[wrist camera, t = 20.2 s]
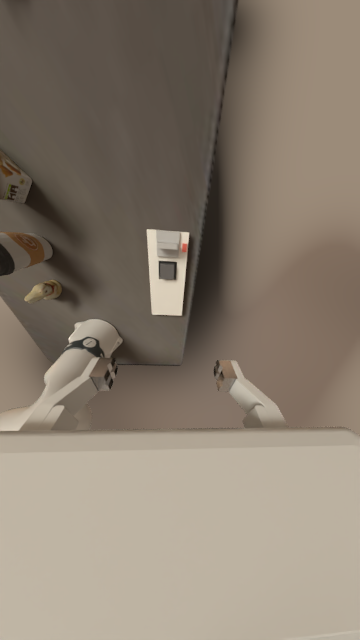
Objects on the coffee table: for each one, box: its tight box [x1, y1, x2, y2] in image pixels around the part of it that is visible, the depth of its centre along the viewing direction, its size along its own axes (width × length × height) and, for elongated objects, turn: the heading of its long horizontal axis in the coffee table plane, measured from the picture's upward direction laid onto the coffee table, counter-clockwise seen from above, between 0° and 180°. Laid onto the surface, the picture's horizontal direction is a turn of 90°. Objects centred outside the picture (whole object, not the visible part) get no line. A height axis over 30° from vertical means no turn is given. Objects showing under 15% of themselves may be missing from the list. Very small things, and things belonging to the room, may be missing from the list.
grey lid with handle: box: [156, 230, 180, 257], centre depth 34 cm, size 6×6×4 cm
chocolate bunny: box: [25, 280, 62, 303], centre depth 41 cm, size 6×8×10 cm
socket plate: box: [147, 229, 189, 316], centre depth 43 cm, size 26×11×3 cm, turn 176°
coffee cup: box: [0, 232, 53, 276], centre depth 32 cm, size 8×8×15 cm
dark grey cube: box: [160, 261, 174, 279], centre depth 40 cm, size 4×4×4 cm
